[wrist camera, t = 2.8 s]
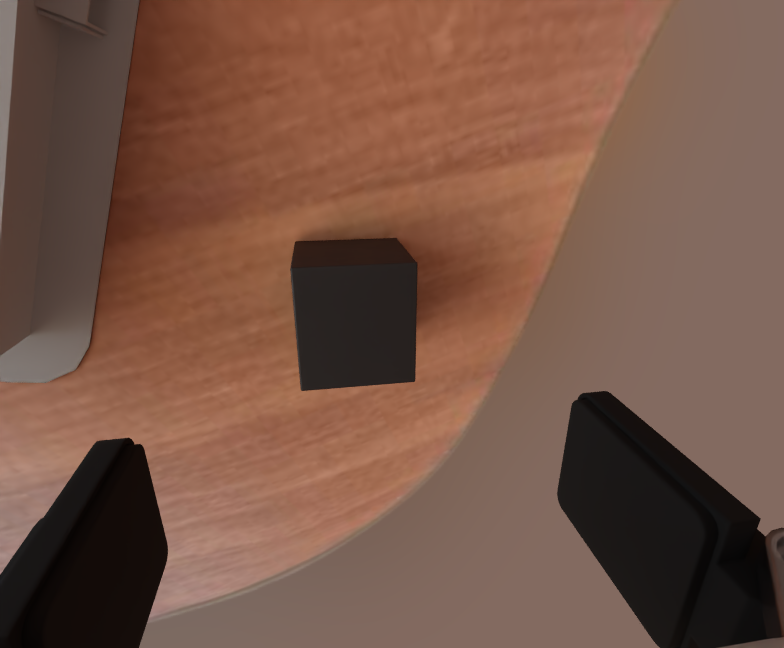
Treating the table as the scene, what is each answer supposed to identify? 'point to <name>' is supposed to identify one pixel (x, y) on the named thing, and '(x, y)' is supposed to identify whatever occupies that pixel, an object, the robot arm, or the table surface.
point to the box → (354, 312)
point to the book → (56, 173)
